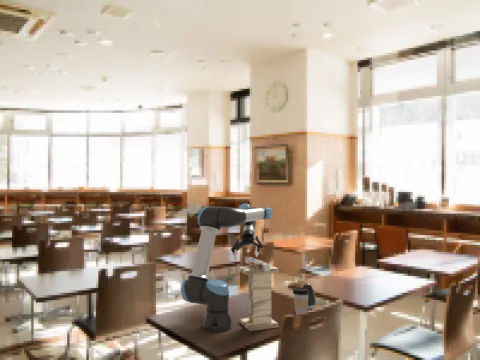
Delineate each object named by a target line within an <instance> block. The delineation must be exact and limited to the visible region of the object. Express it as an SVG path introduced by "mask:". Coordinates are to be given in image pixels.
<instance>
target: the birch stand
mask: <svg viewBox="0 0 480 360" xmlns="http://www.w3.org/2000/svg"><path fill="white" fill-rule="evenodd" d="M258 260H259V261H261V262H264V263H266V264H268V265H270V271H266V272H264V271H262V270H260V264H258V263H256V262H254V261H252V260H249V264H248V265H242V266H241V265H240V266H237V269H238V271H239V272H240V273H242V274H244V275H246V276H248V317H244V318H240V319H239V323H240V325H242V326H243V327H244V328H246V329H247V330H248V331H249V332H253V331H261V330H268V329H277V328H279V323H278V322H277V321H275V319H273V318H272V274H277V273H280V268H278V267H276V266H274V265H271V264H269V263H268V262H266V261H263V260H261V259H258Z"/></svg>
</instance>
